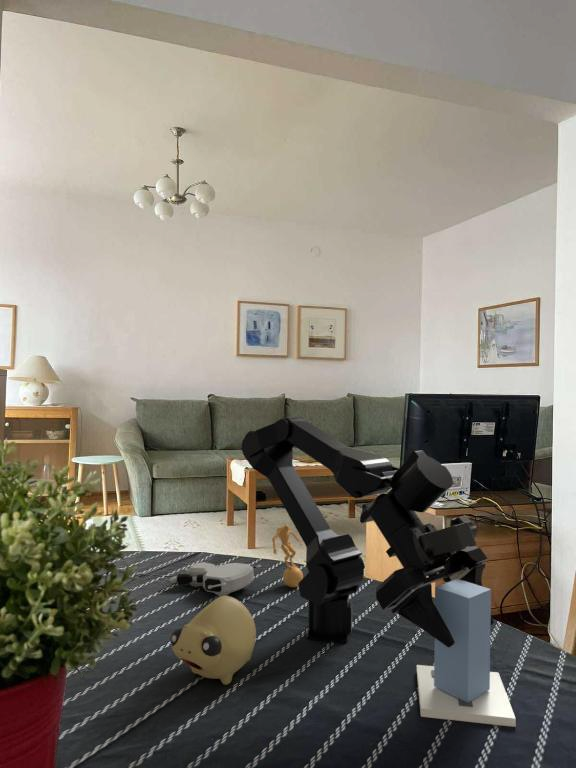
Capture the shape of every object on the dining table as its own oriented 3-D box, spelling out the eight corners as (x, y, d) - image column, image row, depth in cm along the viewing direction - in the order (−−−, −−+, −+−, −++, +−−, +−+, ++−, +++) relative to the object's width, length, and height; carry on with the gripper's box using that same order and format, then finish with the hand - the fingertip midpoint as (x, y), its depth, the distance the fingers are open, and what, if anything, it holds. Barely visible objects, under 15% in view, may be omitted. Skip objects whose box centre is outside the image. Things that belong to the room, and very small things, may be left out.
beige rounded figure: (156, 687, 77) (157, 607, 77) (212, 651, 87) (213, 580, 87) (216, 709, 72) (217, 623, 72) (267, 668, 82) (268, 593, 82)
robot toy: (165, 595, 112) (228, 605, 104) (164, 572, 112) (227, 580, 104) (205, 577, 122) (264, 584, 115) (203, 555, 123) (263, 561, 115)
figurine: (287, 595, 110) (288, 532, 110) (263, 587, 114) (264, 526, 114) (313, 583, 116) (314, 524, 116) (290, 576, 120) (291, 519, 120)
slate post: (433, 686, 75) (435, 586, 75) (456, 674, 79) (457, 578, 78) (467, 702, 72) (469, 598, 71) (489, 689, 75) (490, 589, 75)
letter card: (420, 716, 71) (420, 706, 71) (416, 671, 81) (416, 663, 81) (515, 726, 69) (515, 716, 69) (498, 679, 80) (498, 671, 80)
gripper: (394, 507, 72) (473, 625, 63) (476, 489, 84) (550, 586, 76) (347, 555, 78) (413, 668, 69) (429, 532, 90) (494, 626, 82)
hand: (472, 635), depth 74 cm, fingers open, 9 cm apart
